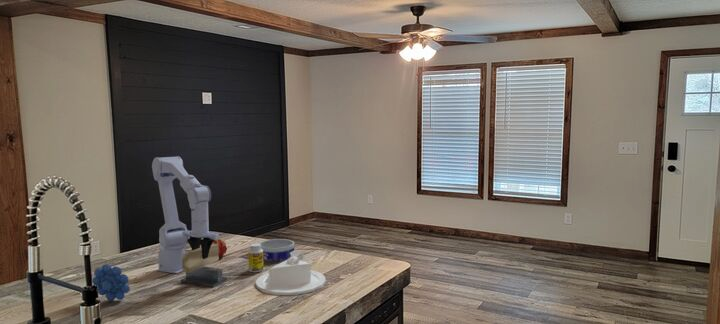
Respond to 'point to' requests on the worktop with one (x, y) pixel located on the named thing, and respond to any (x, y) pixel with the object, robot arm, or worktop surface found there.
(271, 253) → the dog bowl
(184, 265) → the maple bar
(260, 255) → the supplement bottle
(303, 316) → the worktop surface
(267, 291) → the dish
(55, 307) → the worktop surface
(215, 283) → the balance ridge
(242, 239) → the worktop surface
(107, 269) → the grapes
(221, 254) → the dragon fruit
